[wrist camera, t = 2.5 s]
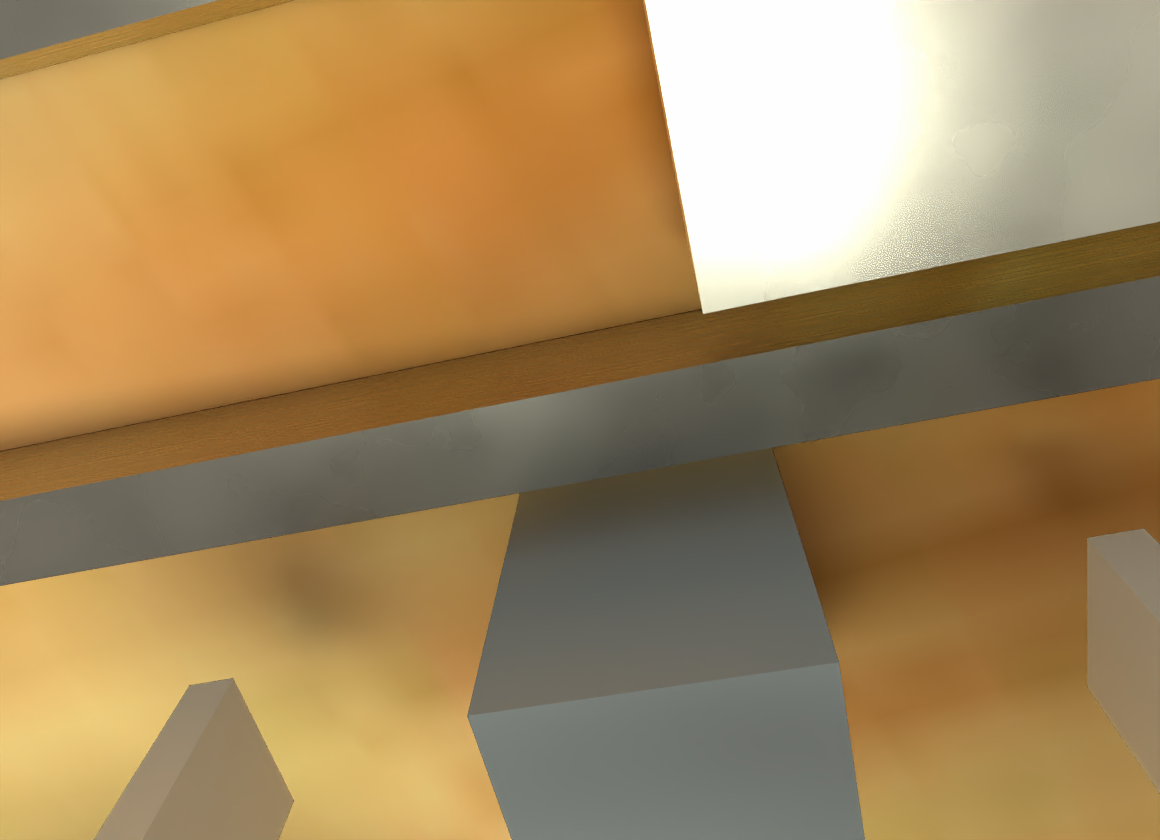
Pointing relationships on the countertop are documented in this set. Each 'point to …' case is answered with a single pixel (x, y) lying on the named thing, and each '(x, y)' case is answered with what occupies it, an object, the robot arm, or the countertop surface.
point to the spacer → (664, 665)
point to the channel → (561, 382)
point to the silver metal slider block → (900, 133)
